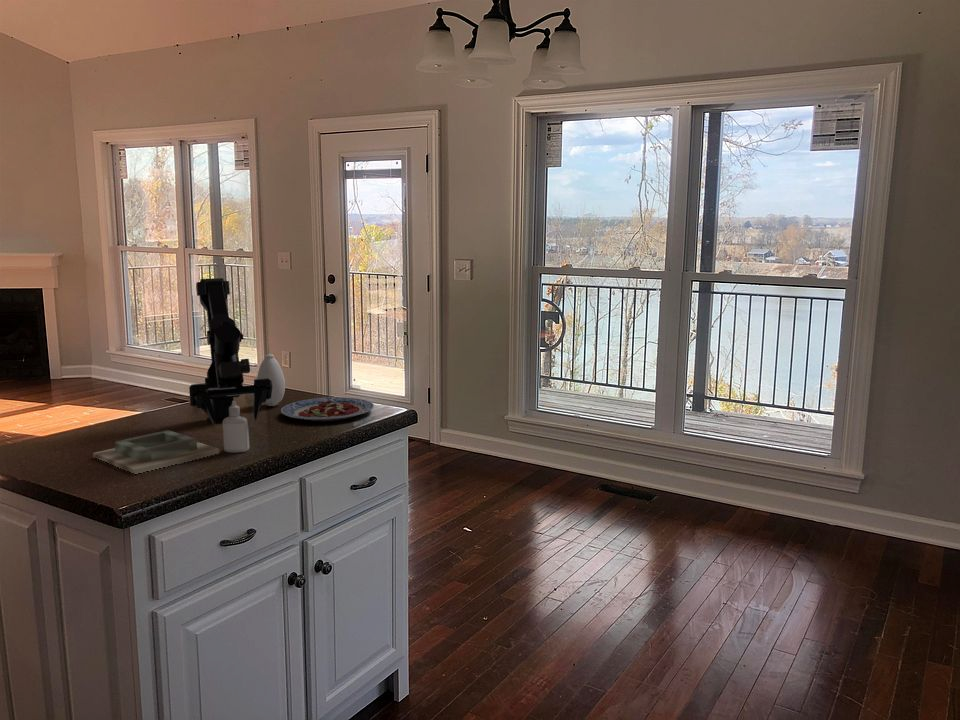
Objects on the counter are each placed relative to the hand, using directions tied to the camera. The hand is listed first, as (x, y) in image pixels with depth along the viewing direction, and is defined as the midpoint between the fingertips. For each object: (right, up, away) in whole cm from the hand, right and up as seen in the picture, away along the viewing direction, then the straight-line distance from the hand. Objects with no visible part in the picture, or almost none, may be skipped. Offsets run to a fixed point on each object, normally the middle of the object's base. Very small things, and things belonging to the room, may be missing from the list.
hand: (235, 421), depth 179 cm
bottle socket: (-18, -8, -2) cm, 19 cm away
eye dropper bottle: (0, -7, +2) cm, 8 cm away
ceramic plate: (+14, -1, +38) cm, 40 cm away
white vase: (-4, +1, +48) cm, 48 cm away
